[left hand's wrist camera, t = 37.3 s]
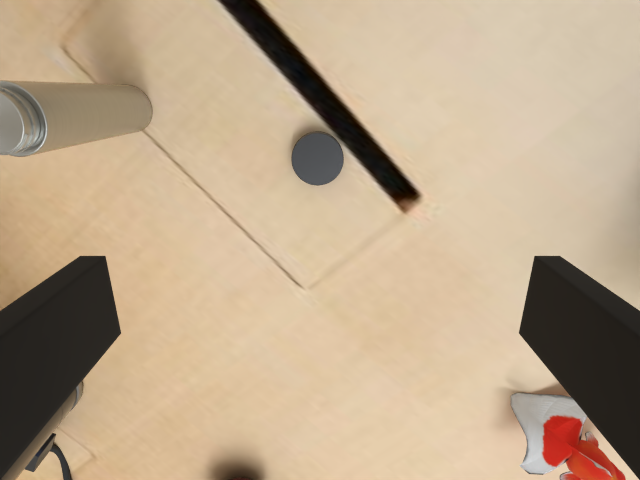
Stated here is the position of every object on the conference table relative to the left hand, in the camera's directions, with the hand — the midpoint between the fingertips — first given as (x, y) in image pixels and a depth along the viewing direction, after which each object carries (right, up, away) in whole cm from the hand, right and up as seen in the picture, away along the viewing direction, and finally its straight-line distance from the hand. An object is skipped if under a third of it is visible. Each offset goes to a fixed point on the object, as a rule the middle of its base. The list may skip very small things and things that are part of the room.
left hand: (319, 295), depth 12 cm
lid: (0, +9, +25) cm, 26 cm away
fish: (+28, -21, +37) cm, 51 cm away
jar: (-18, +14, +24) cm, 33 cm away
